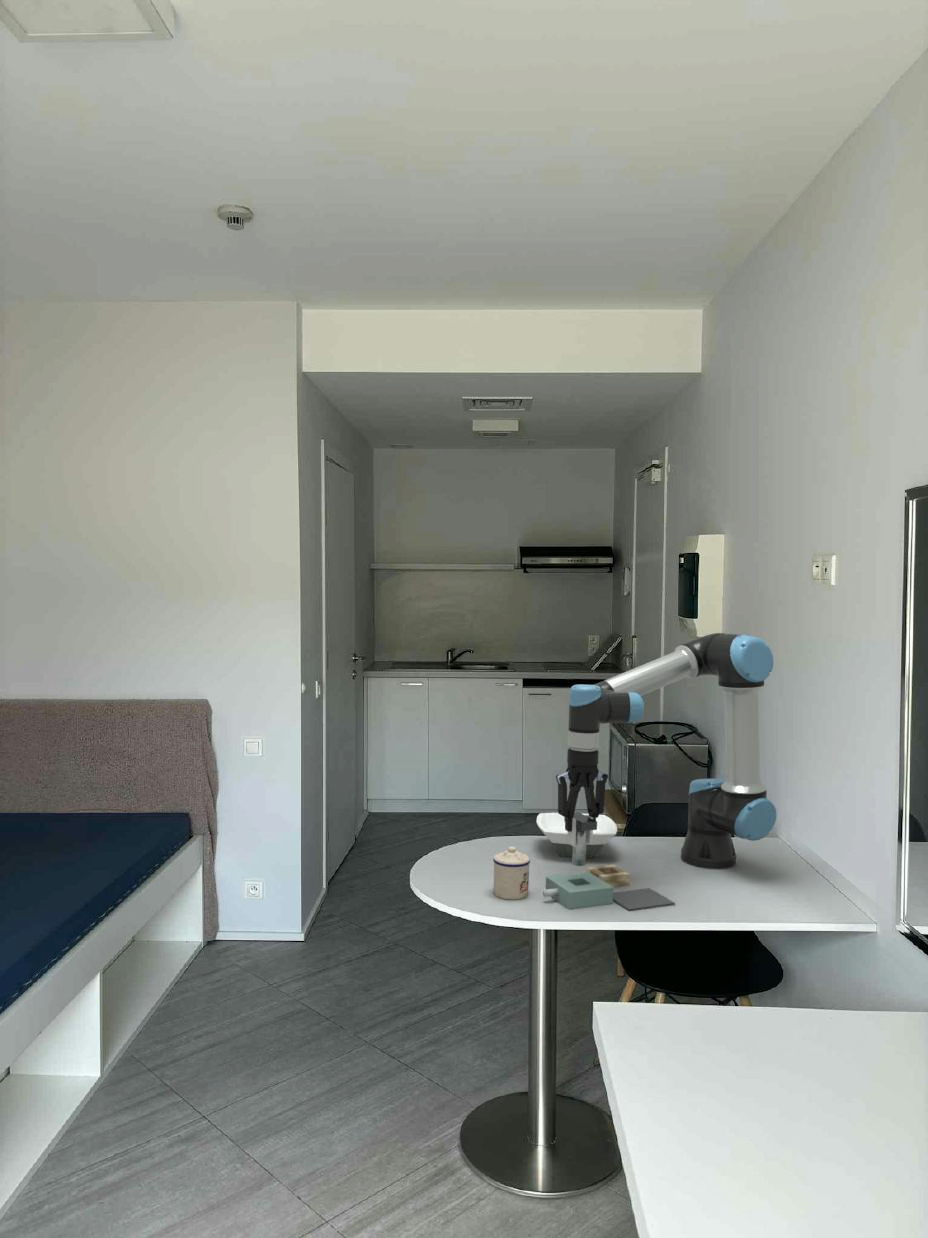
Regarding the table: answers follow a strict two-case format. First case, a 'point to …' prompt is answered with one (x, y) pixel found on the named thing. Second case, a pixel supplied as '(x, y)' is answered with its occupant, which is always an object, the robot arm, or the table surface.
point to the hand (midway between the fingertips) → (579, 843)
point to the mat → (640, 899)
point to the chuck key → (581, 837)
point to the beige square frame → (610, 875)
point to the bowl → (558, 835)
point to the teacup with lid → (511, 874)
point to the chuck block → (578, 890)
